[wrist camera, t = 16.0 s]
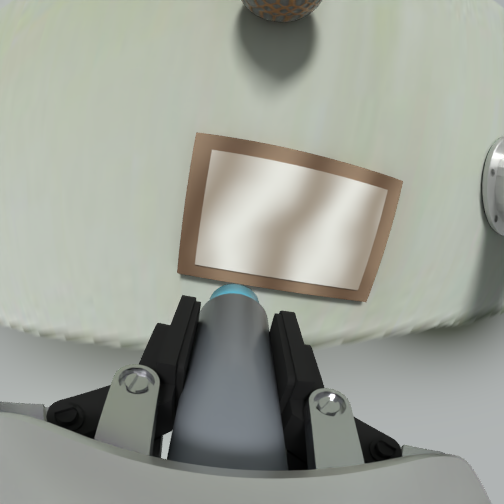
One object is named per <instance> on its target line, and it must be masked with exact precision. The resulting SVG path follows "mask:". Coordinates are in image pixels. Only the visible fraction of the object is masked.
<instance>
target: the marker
mask: <svg viewBox="0 0 504 504" xmlns="http://www.w3.org/2000/svg"><path fill="white" fill-rule="evenodd" d="M167 460H171V461H177V462H182V463H188V464H195V465H202V466H209V467H218V468H228V469H240V470H261V471H288V464H287V457H286V449H285V442H284V434H283V427H282V419H281V412H280V405H279V397H278V390H277V383H276V376H275V368H274V361H273V354H272V347H271V340H270V333H269V325H268V318H267V315H266V312H265V310H264V309H263V307H262V306H261V305H260V304H259V301H258V298H257V296H256V295H255V293H254V292H253V291H252V290H251V289H249V288H248V287H246V286H243V285H239V284H227V285H224V286H221V287H220V288H218V289H217V290H216V291H215V292H214V293H213V294H212V296H211V297H210V300H209V301H208V302H207V303H206V304H205V305H204V306H203V308H202V309H201V311H200V314H199V322H198V327H197V331H196V335H195V339H194V343H193V348H192V352H191V356H190V361H189V365H188V369H187V374H186V378H185V383H184V387H183V392H182V394H181V396H180V398H179V403H178V407H177V412H176V417H175V422H174V426H173V432H172V436H171V441H170V446H169V452H168V457H167Z"/></svg>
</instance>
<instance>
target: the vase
mask: <svg viewBox="0 0 504 504" xmlns="http://www.w3.org/2000/svg"><path fill="white" fill-rule="evenodd" d="M241 1H242V2H243V4H244V5H245V6H246V7H247V8H248V9H249V10H250V11H251V12H253V13H254V14H255V15H257V16H259V17H261V18H264V19H266V20H270V21H276V22H289V21H294V20H298V19H301V18H303V17H305V16H307V15H308V14H310V13H311V12H313V11H314V10H315V9H316V8H317V7H318V5H319V4H320V3H321V1H322V0H241Z"/></svg>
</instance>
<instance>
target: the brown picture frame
mask: <svg viewBox="0 0 504 504" xmlns="http://www.w3.org/2000/svg"><path fill="white" fill-rule="evenodd" d="M402 184H403V181H401V180H398V179H395V178H392V177H389V176H387V175H384V174H380V173H377V172H374V171H371V170H368V169H365V168H361V167H358V166H355V165H351V164H348V163H344V162H341V161H337V160H334V159H330V158H326V157H322V156H318V155H314V154H310V153H306V152H302V151H298V150H293V149H289V148H284V147H280V146H275V145H270V144H265V143H260V142H255V141H249V140H243V139H237V138H231V137H225V136H218V135H211V134H204V133H196V137H195V143H194V148H193V154H192V160H191V166H190V172H189V179H188V185H187V192H186V199H185V207H184V214H183V222H182V231H181V240H180V249H179V259H178V270H177V273H179V274H184V275H190V276H196V277H201V278H207V279H213V280H219V281H225V282H231V283H237V284H243V285H249V286H255V287H262V288H268V289H275V290H281V291H288V292H295V293H302V294H309V295H316V296H324V297H331V298H339V299H346V300H354V301H363V302H366V301H367V299H368V296H369V293H370V291H371V288H372V285H373V282H374V280H375V277H376V274H377V271H378V268H379V265H380V262H381V259H382V256H383V253H384V250H385V247H386V243H387V240H388V237H389V233H390V230H391V227H392V223H393V219H394V216H395V212H396V208H397V204H398V200H399V196H400V192H401V188H402Z"/></svg>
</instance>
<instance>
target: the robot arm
mask: <svg viewBox="0 0 504 504" xmlns="http://www.w3.org/2000/svg"><path fill="white" fill-rule="evenodd" d="M482 193H483V204H484V209H485V213H486V216H487V220H488V222H489V224H490V226H491V227H492V228H493V230H494V231H495V232H497V233H498V234H500V235H503V236H504V137H502V138H499V139H498V140H497V141H495V142H494V144H493V145H492V147H491V149H490V151H489V153H488V155H487V159H486V162H485V167H484V172H483V182H482ZM200 306H201V302H198V301H196V297H190V296H184V295H182V297H181V300H180V302H179V305H178V307H177V310H176V312H175V315H174V317H173V320H172V323H171V325H166V324H161V323H157V325H156V327H155V329H154V331H153V333H152V335H151V338H150V340H149V342H148V344H147V346H146V349H145V351H144V353H143V356H142V358H141V361H140V363H139V365H138V364H132V365H127V366H124V367H122V368H120V369H119V370H118V371H117V372H116V373H115V375H114V378H113V380H112V383H111V385H109V386H106V387H103V388H100V389H97V390H94V391H90V392H87V393H84V394H80V395H77V396H74V397H70V398H66V399H63V400H59V401H57V402H55V403H53V404H52V405H51V406H50V407H44V405H43V404H25V403H10V402H0V504H491V502H490V500H489V497H488V495H487V493H486V491H485V489H484V487H483V485H482V483H481V481H480V480H479V478H478V477H477V475H476V473H475V472H474V470H473V469H472V467H471V466H470V465H469V464H468V462H467V461H465V460H464V459H463V458H461V457H458V456H455V455H451V454H445V453H443V452H439V451H433V450H427V449H422V448H417V447H412V446H407V445H403V446H402V447H400V446H399V444H398V443H397V442H396V441H395V440H394V439H392V438H391V437H389V436H387V435H385V434H384V433H382V432H380V431H378V430H376V429H375V428H373V427H371V426H369V425H367V424H366V423H364V422H362V421H360V420H358V419H357V418H355V417H354V416H353V413H352V409H351V406H350V403H349V401H348V399H347V398H346V397H345V396H344V395H343V394H341V393H340V392H339V391H336V390H334V389H328V388H324V385H323V382H322V378H321V375H320V372H319V369H318V366H317V363H316V360H315V357H314V354H313V350H312V348H311V346H310V345H305V344H304V342H303V338H302V335H301V332H300V328H299V325H298V322H297V319H296V315H295V313H294V312H288V311H280V313H279V314H276V313H275V315H274V318H273V321H272V325H271V329H270V332H269V333H270V340H271V347H272V354H273V361H274V368H275V376H276V383H277V390H278V397H279V405H280V412H281V419H282V427H283V434H284V442H285V449H286V457H287V464H288V471H261V470H240V469H228V468H218V467H209V466H202V465H195V464H188V463H182V462H177V461H171V460H166V459H162V458H161V452H162V441H163V435H164V434H166V433H168V432H170V431H172V430H173V426H174V422H175V417H176V412H177V407H178V403H179V398H180V396H181V394H182V392H183V387H184V383H185V378H186V374H187V369H188V365H189V361H190V356H191V352H192V348H193V343H194V339H195V335H196V331H197V327H198V322H199V314H200Z"/></svg>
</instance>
